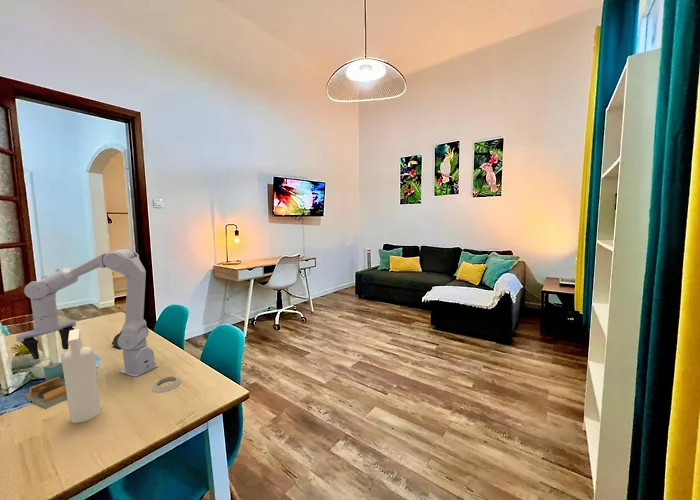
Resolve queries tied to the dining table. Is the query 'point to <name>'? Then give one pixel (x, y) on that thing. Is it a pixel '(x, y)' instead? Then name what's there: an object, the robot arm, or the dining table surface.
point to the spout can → (53, 371)
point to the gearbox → (48, 392)
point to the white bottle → (80, 380)
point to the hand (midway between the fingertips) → (51, 353)
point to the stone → (116, 340)
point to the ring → (169, 387)
